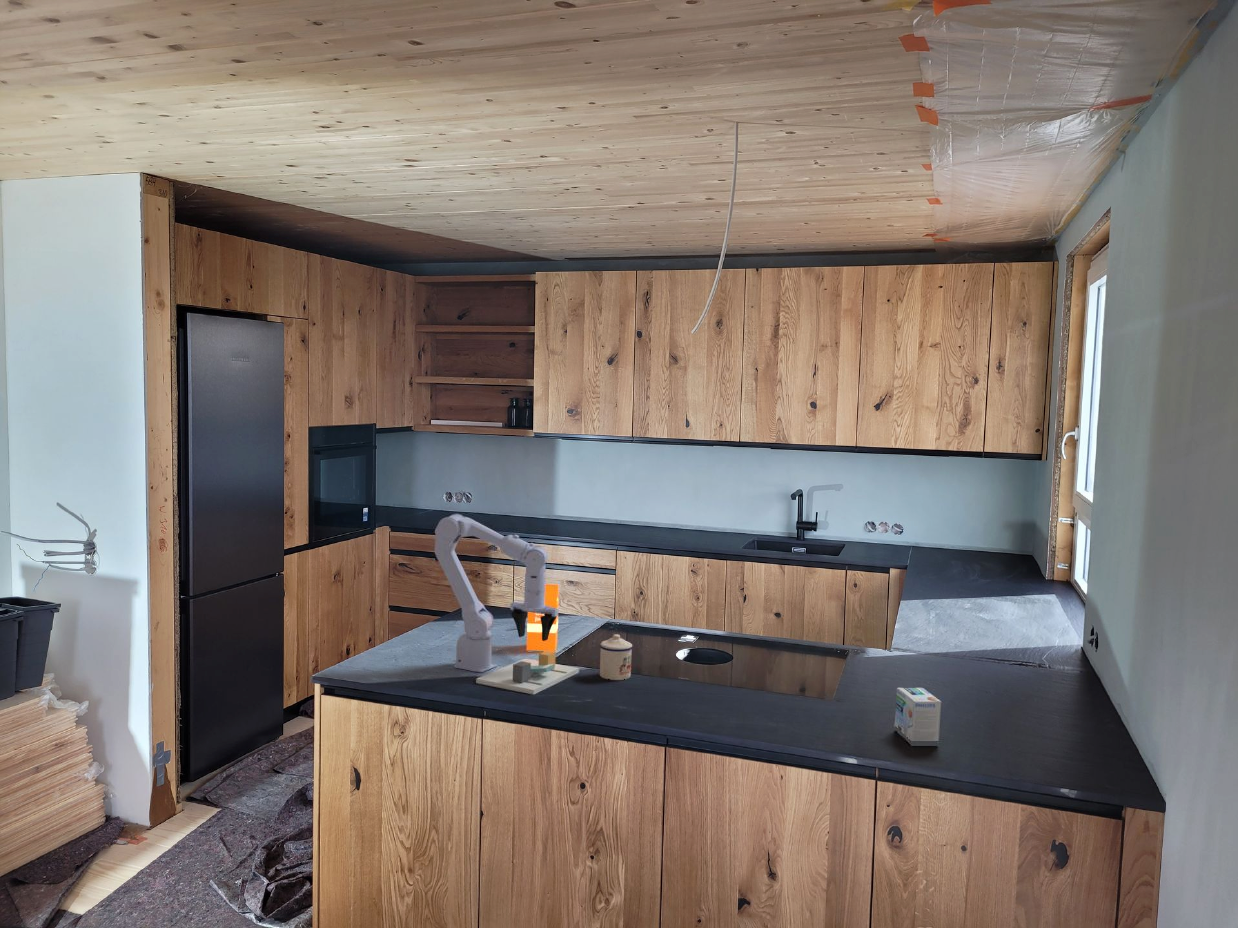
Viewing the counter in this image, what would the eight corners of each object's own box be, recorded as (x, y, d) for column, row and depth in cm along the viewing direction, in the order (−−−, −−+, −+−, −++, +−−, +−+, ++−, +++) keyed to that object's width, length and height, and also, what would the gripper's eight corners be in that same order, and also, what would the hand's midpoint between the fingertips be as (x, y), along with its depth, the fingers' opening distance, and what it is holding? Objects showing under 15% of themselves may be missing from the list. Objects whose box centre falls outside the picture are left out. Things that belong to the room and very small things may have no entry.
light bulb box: (893, 730, 220) (895, 686, 219) (920, 731, 220) (923, 686, 220) (911, 747, 209) (913, 700, 208) (939, 747, 210) (942, 701, 209)
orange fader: (538, 669, 255) (538, 653, 255) (545, 665, 259) (546, 650, 258) (547, 670, 254) (548, 655, 253) (555, 667, 257) (555, 652, 257)
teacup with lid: (624, 682, 250) (626, 640, 250) (593, 677, 254) (595, 636, 253) (639, 671, 261) (641, 631, 261) (609, 667, 265) (611, 627, 264)
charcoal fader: (512, 680, 243) (513, 664, 243) (520, 677, 247) (521, 661, 247) (522, 682, 242) (522, 666, 242) (530, 678, 246) (530, 662, 245)
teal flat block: (521, 673, 250) (520, 669, 250) (530, 669, 253) (529, 665, 254) (546, 671, 246) (545, 667, 246) (554, 668, 250) (553, 663, 250)
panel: (476, 682, 245) (476, 675, 245) (524, 662, 266) (525, 655, 266) (533, 694, 237) (533, 686, 237) (578, 672, 258) (579, 664, 258)
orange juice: (555, 652, 279) (557, 587, 277) (526, 651, 279) (528, 586, 277) (557, 645, 286) (559, 582, 285) (529, 644, 286) (531, 581, 285)
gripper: (505, 589, 256) (503, 637, 257) (550, 595, 250) (548, 644, 251) (518, 585, 263) (516, 632, 263) (562, 591, 256) (561, 639, 257)
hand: (533, 638), depth 257 cm, fingers open, 7 cm apart
